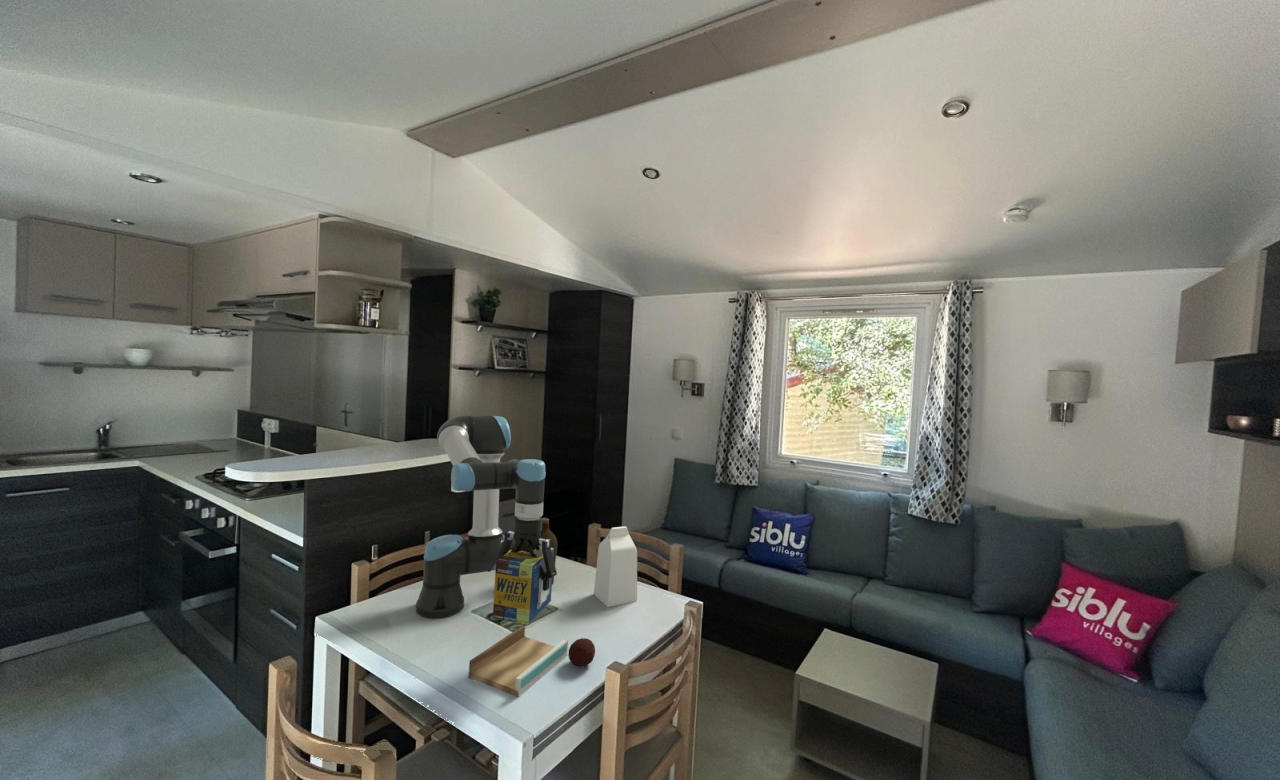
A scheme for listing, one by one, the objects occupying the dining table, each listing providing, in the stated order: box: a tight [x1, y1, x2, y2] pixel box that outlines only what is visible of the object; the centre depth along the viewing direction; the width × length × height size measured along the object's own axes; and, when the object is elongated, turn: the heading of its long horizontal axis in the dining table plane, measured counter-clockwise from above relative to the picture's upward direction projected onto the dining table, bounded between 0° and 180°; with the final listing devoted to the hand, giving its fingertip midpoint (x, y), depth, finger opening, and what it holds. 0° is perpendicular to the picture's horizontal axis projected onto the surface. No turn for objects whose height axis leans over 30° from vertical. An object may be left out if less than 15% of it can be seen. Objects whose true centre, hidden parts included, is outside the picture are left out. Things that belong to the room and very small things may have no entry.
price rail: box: [515, 638, 569, 698], centre depth 135 cm, size 1×22×4 cm, turn 155°
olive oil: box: [539, 517, 558, 586], centre depth 194 cm, size 11×11×25 cm
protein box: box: [492, 547, 554, 625], centre depth 138 cm, size 10×15×16 cm
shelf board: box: [467, 636, 556, 698], centre depth 138 cm, size 16×22×2 cm
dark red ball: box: [567, 637, 596, 668], centre depth 141 cm, size 7×8×7 cm
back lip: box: [468, 625, 526, 678], centre depth 141 cm, size 1×22×4 cm, turn 156°
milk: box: [593, 526, 638, 608], centre depth 186 cm, size 12×12×26 cm
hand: (524, 596), depth 138 cm, fingers closed on protein box, 11 cm apart
